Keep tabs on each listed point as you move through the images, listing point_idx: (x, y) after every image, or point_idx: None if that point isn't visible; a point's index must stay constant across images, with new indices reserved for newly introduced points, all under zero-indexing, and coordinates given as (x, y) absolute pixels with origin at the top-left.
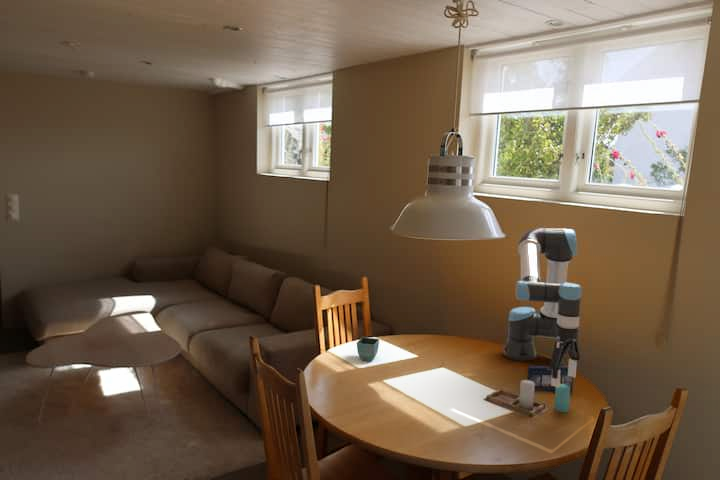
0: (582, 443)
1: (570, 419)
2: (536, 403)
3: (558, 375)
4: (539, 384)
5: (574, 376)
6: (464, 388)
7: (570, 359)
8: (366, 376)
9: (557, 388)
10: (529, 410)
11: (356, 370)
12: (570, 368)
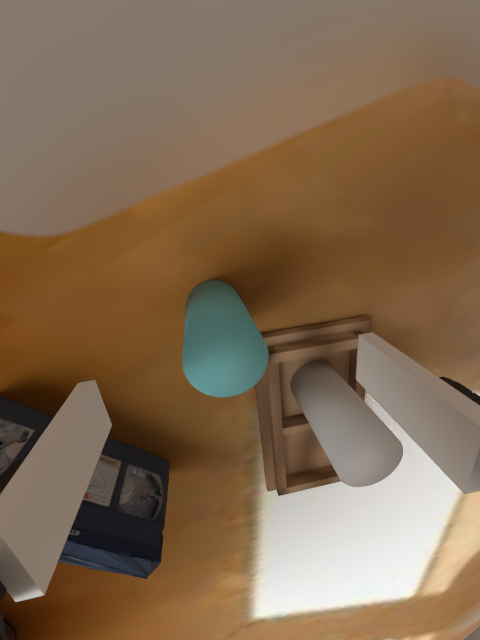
0: (396, 92)
1: (243, 246)
2: (278, 378)
3: (447, 390)
4: (127, 469)
5: (92, 387)
6: (318, 529)
7: (32, 585)
8: (417, 613)
9: (264, 365)
10: (326, 362)
11: (407, 633)
12: (82, 465)
